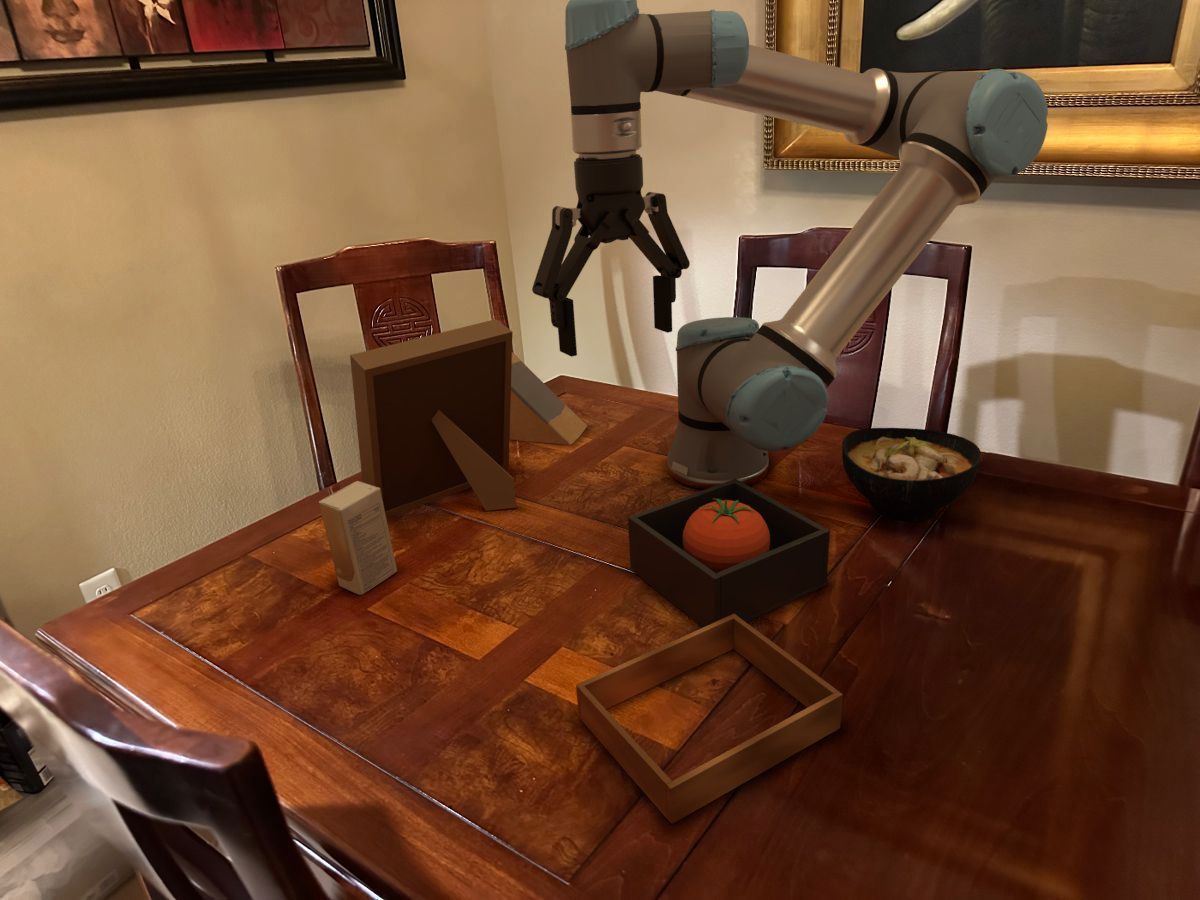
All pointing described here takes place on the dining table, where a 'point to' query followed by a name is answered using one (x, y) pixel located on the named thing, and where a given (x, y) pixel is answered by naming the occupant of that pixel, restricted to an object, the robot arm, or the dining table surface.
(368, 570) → the cosmetic box
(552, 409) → the sandwich container
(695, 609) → the black square bin
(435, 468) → the photo frame
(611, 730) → the box
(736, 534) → the tomato
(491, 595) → the dining table surface
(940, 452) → the bowl
